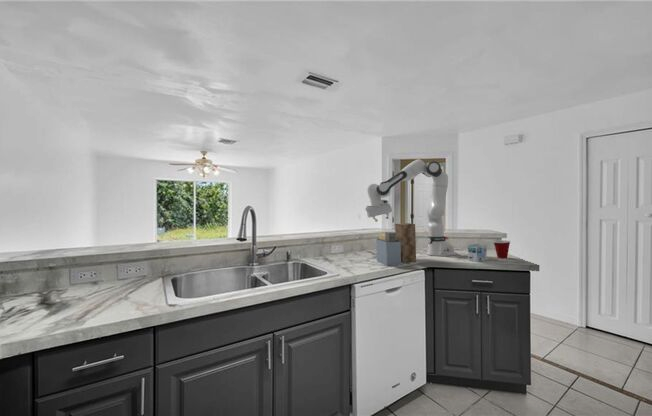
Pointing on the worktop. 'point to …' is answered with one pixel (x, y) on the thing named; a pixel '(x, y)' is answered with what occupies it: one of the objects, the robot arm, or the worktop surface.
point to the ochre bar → (388, 236)
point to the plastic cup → (502, 248)
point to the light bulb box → (477, 252)
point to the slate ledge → (388, 252)
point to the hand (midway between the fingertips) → (382, 220)
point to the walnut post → (406, 241)
